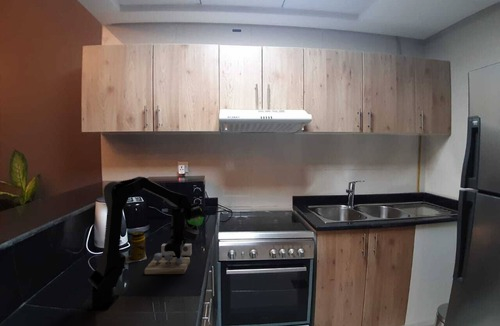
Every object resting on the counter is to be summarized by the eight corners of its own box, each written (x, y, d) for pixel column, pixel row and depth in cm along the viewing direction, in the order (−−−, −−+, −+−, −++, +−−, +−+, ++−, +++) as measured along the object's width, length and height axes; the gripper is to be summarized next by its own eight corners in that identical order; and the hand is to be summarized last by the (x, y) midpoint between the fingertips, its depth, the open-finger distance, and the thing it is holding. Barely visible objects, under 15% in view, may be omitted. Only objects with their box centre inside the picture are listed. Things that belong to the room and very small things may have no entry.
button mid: (170, 265, 92) (170, 256, 92) (163, 265, 92) (163, 256, 92) (173, 261, 95) (173, 252, 95) (166, 262, 95) (166, 252, 95)
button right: (181, 268, 93) (181, 259, 93) (174, 269, 93) (174, 259, 92) (183, 265, 96) (183, 256, 96) (176, 265, 96) (176, 256, 95)
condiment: (147, 258, 101) (146, 233, 101) (126, 263, 97) (126, 237, 96) (144, 252, 108) (144, 229, 107) (125, 257, 103) (124, 232, 102)
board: (184, 273, 89) (184, 269, 89) (144, 274, 89) (144, 269, 89) (189, 261, 99) (189, 257, 99) (154, 261, 99) (154, 257, 99)
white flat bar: (190, 255, 105) (190, 245, 105) (161, 255, 104) (161, 245, 104) (191, 253, 107) (191, 243, 107) (162, 253, 107) (162, 243, 106)
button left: (160, 265, 92) (160, 256, 92) (153, 265, 92) (153, 256, 92) (162, 262, 95) (162, 252, 95) (155, 262, 95) (155, 253, 95)
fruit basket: (185, 223, 152) (185, 207, 152) (196, 220, 159) (196, 205, 158) (195, 227, 145) (195, 210, 144) (206, 224, 152) (206, 208, 151)
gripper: (193, 230, 84) (192, 269, 85) (201, 216, 103) (201, 248, 104) (163, 230, 84) (164, 269, 84) (177, 216, 102) (177, 248, 103)
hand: (178, 258), depth 94 cm, fingers closed, pressing on button right
